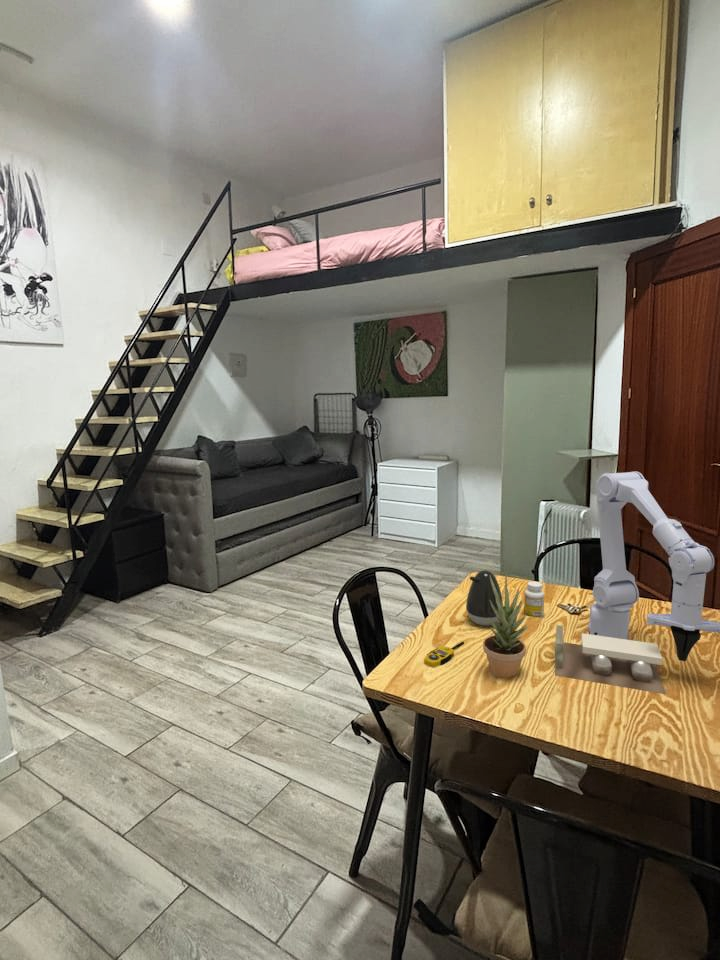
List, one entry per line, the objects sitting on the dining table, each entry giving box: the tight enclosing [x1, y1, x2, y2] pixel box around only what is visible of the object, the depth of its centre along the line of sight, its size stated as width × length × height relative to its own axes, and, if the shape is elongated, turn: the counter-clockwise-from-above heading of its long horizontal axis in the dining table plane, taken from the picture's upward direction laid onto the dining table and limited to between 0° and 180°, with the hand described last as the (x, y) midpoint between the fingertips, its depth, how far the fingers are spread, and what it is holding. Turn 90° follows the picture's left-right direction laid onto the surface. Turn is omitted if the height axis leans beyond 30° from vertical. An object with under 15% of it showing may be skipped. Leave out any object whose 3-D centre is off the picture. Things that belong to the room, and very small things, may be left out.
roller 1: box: [591, 654, 612, 675], centre depth 120 cm, size 4×10×4 cm, turn 159°
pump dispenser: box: [465, 569, 504, 627], centre depth 144 cm, size 10×10×15 cm
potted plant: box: [482, 574, 529, 679], centre depth 117 cm, size 10×10×25 cm
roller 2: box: [629, 660, 653, 682], centre depth 117 cm, size 4×10×4 cm, turn 159°
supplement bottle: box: [523, 580, 545, 619], centre depth 148 cm, size 5×5×10 cm
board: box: [554, 624, 667, 695], centre depth 119 cm, size 22×17×7 cm
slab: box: [580, 632, 663, 666], centre depth 118 cm, size 16×7×2 cm, turn 69°
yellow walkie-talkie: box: [423, 641, 465, 668], centre depth 128 cm, size 5×2×15 cm
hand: (681, 658), depth 114 cm, fingers closed
